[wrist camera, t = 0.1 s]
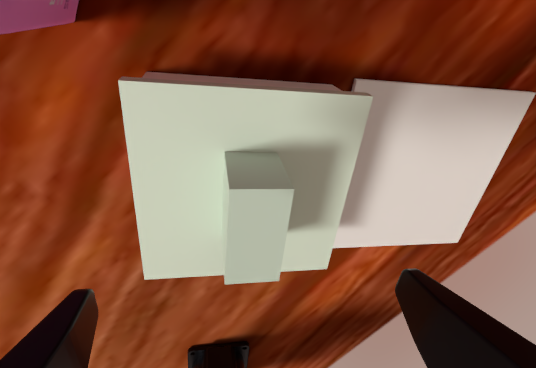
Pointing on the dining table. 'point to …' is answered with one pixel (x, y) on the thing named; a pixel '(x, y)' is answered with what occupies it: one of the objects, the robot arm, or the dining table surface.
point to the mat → (425, 160)
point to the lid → (238, 175)
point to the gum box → (35, 14)
